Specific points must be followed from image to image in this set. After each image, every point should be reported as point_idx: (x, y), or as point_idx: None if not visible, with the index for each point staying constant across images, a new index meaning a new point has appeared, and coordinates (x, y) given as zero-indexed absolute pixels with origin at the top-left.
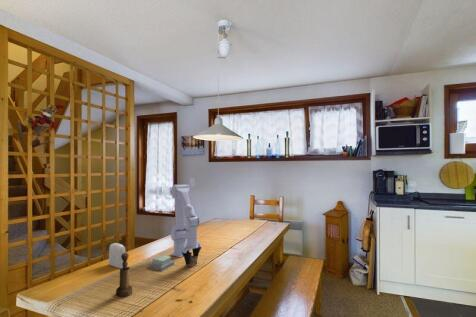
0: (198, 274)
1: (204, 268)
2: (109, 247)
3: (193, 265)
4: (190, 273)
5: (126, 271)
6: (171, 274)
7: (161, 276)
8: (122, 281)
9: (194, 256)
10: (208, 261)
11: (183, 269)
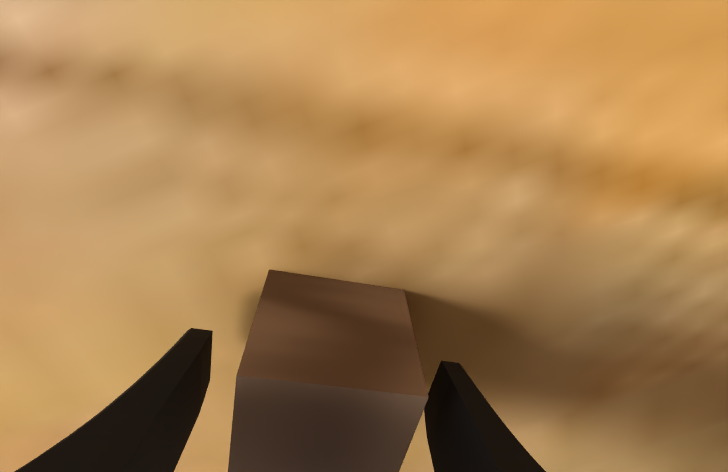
0: (711, 77)
1: (417, 61)
2: None
3: (379, 295)
4: (653, 228)
5: None
6: (666, 415)
7: (709, 467)
8: None
9: (259, 419)
10: (30, 109)
11: (511, 362)
